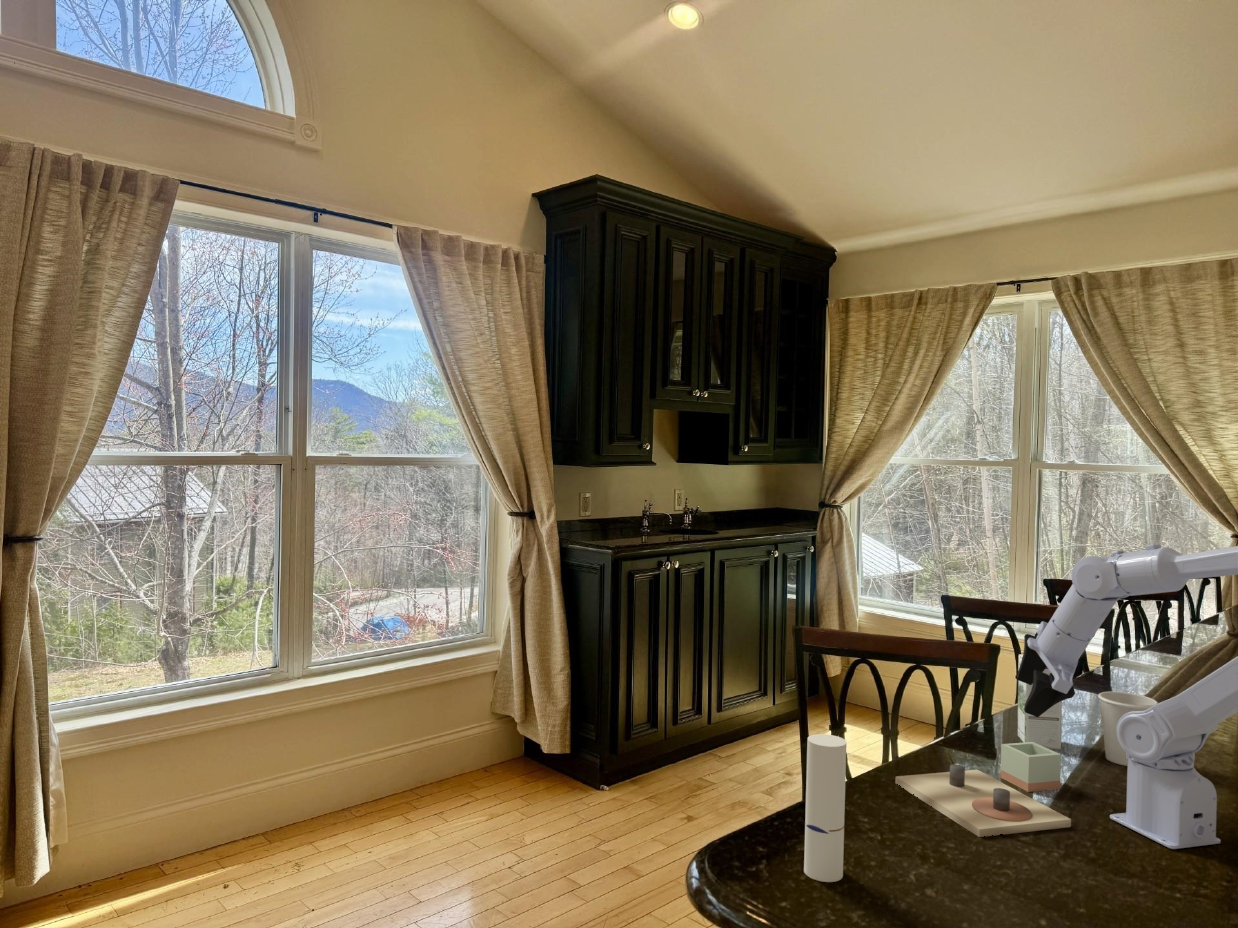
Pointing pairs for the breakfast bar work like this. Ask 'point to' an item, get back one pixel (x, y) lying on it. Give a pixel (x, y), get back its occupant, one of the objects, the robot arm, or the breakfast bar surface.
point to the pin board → (981, 802)
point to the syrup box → (1038, 720)
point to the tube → (825, 807)
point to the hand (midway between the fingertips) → (1027, 696)
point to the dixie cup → (1111, 712)
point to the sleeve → (1030, 766)
